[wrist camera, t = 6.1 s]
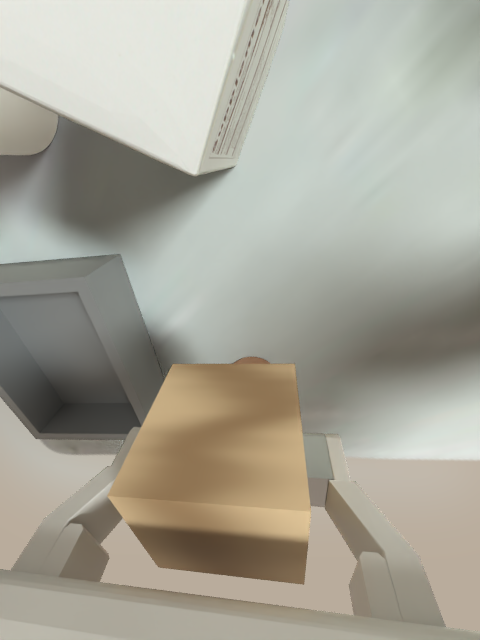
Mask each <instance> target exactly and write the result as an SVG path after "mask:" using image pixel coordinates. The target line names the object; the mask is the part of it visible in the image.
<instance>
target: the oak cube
mask: <svg viewBox="0 0 480 640" xmlns="http://www.w3.org/2000/svg"><path fill="white" fill-rule="evenodd" d="M107 496H108V498H109V499H110V501H111V502H112V503H113V505H114V506H115V508H116V509H117V510H118V512H119V513H120V514H121V516H122V517H123V519H124V520H125V521H126V523H127V524H128V525H129V527H130V528H131V530H132V531H133V532H134V534H135V535H136V537H137V538H138V540H139V541H140V542H141V544H142V545H143V547H144V548H145V549H146V551H147V552H148V553H149V555H150V556H151V558H152V559H153V560H154V562H155V563H156V565H157V566H158V567H160V568H169V569H177V570H186V571H194V572H202V573H211V574H219V575H228V576H236V577H244V578H253V579H261V580H271V581H278V582H288V583H295V584H304V580H305V570H306V559H307V549H308V539H309V528H310V518H311V506H310V497H309V488H308V479H307V470H306V461H305V452H304V443H303V433H302V424H301V415H300V406H299V397H298V388H297V379H296V370H295V364H172V366H171V368H170V370H169V372H168V374H167V376H166V378H165V380H164V382H163V384H162V386H161V388H160V390H159V393H158V395H157V397H156V399H155V401H154V403H153V405H152V407H151V409H150V411H149V413H148V415H147V417H146V419H145V421H144V423H143V425H142V427H141V429H140V431H139V433H138V435H137V437H136V439H135V441H134V443H133V445H132V447H131V449H130V451H129V453H128V455H127V457H126V459H125V461H124V463H123V465H122V467H121V469H120V471H119V473H118V475H117V477H116V479H115V481H114V483H113V485H112V487H111V489H110V491H109V493H108V495H107Z"/></svg>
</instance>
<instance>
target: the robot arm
mask: <svg viewBox="0 0 480 640" xmlns="http://www.w3.org/2000/svg"><path fill="white" fill-rule="evenodd" d="M140 429H141V427H133V428H132V429H131V430H130V432H129V434H128V435H127V437H126V439H125V441H124V443H123V445H122V447H121V448H120V450H119V452H118V454H117V456H116V458H115V460H114V461H113V463H112V465H111V466H110V467H109V466H107V467H106V468H105V469H104V470H102V471H101V472H100V473H99V474H98V475H96V476H95V477H94V478H93V479H91V480H90V481H89V482H88V483H87V484H86V485H84V486H83V487H82V488H81V489H79V491H77V492H76V493H75V494H74V495H72V496H71V497H70V498H69V499H67V500H66V501H65V502H64V503H63V504H61V505H60V506H59V507H58V508H57V509H55V510H54V511H53V512H52V513H51V514H49V515H48V516H47V517H46V518H44V519H43V521H42V523H41V524H40V526H39V527H38V529H37V530H36V532H35V533H34V535H33V537H32V538H31V539H30V541H29V543H28V544H27V546H26V547H25V549H24V550H23V552H22V554H21V555H20V557H19V558H18V560H17V561H16V563H15V564H14V566H13V567H12V569H11V570H3V569H0V640H480V632H478V631H470V630H463V629H455V628H447V627H446V626H445V624H444V621H443V618H442V616H441V613H440V610H439V607H438V605H437V602H436V599H435V597H434V594H433V591H432V589H431V586H430V583H429V581H428V578H427V575H426V573H425V570H424V567H423V565H422V562H421V559H420V556H419V555H418V554H417V553H416V551H414V549H413V548H412V547H411V546H410V544H409V543H408V542H407V541H406V540H405V538H404V537H403V536H402V535H401V534H400V533H399V531H398V530H397V529H396V528H395V527H394V526H393V524H392V523H391V522H390V521H389V520H388V519H387V517H386V516H385V515H384V514H383V513H382V512H381V510H380V509H378V507H377V506H376V505H375V503H374V502H373V501H372V500H371V499H370V498H369V497H368V495H367V494H366V493H365V492H364V491H363V490H362V488H361V487H360V486H359V485H358V484H357V482H356V481H351V478H350V474H349V470H348V466H347V463H346V459H345V454H344V451H343V447H342V443H341V439H340V436H339V435H338V434H324V433H303V443H304V452H305V461H306V470H307V479H308V488H309V497H310V506H318V507H325V509H326V511H327V513H328V514H329V516H330V517H331V519H332V521H333V522H334V524H335V526H336V527H337V529H338V530H339V532H340V533H341V535H342V537H343V539H344V540H345V542H346V543H347V545H348V547H349V548H350V550H351V551H352V553H353V555H354V556H355V558H356V559H357V561H358V562H357V565H356V568H355V571H354V573H353V576H352V578H351V581H350V584H349V589H350V595H351V601H352V606H353V612H354V615H347V614H340V613H333V612H324V611H317V610H309V609H302V608H294V607H286V606H279V605H271V604H264V603H255V602H248V601H241V600H233V599H225V598H217V597H210V596H202V595H195V594H187V593H178V592H172V591H164V590H156V589H149V588H141V587H133V586H125V585H118V584H110V583H103V582H100V579H101V577H102V575H103V572H104V570H105V567H106V565H107V562H108V560H109V555H108V553H107V552H106V550H105V549H104V548H103V547H102V546H101V545H100V544H101V542H102V541H103V540H104V539H105V538H106V537H107V536H108V535H109V533H110V532H111V531H112V530H113V529H114V528H115V526H116V525H117V524H118V523H119V522H120V521H121V519H122V518H123V517H122V516H121V514H120V513H119V512H118V510H117V509H116V508H115V506H114V505H113V503H112V502H111V501H110V499H109V498H108V496H107V495H108V493H109V491H110V489H111V487H112V485H113V483H114V481H115V479H116V477H117V475H118V473H119V471H120V469H121V467H122V465H123V463H124V461H125V459H126V457H127V455H128V453H129V451H130V449H131V447H132V445H133V443H134V441H135V439H136V437H137V435H138V433H139V431H140Z"/></svg>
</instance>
